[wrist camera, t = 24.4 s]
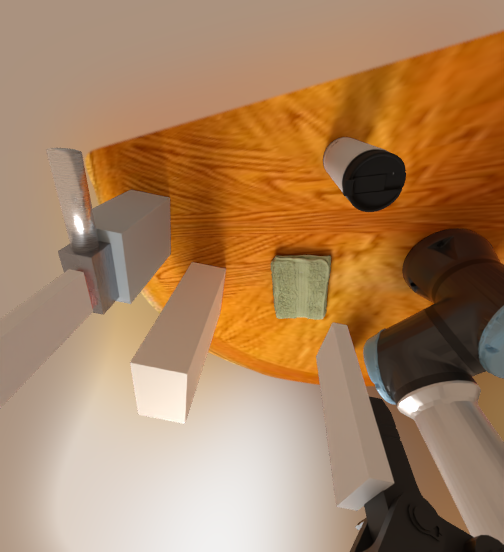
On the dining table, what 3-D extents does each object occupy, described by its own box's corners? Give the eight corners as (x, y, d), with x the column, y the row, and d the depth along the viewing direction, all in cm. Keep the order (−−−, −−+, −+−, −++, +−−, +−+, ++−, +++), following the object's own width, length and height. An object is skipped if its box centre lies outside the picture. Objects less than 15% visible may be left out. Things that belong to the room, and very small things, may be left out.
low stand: (170, 197, 50) (121, 233, 35) (170, 253, 57) (130, 303, 42) (130, 189, 50) (65, 222, 35) (136, 246, 57) (84, 294, 42)
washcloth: (331, 250, 53) (334, 258, 51) (325, 313, 63) (327, 322, 60) (270, 252, 55) (269, 259, 52) (272, 313, 64) (272, 322, 62)
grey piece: (96, 152, 29) (61, 160, 25) (119, 296, 42) (98, 319, 37) (59, 145, 29) (17, 151, 25) (93, 291, 42) (69, 314, 37)
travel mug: (321, 139, 42) (346, 156, 25) (362, 134, 41) (417, 148, 24) (320, 178, 45) (342, 216, 29) (358, 174, 44) (404, 211, 28)
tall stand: (226, 268, 58) (187, 374, 34) (220, 313, 66) (185, 423, 42) (192, 261, 58) (130, 362, 34) (190, 307, 66) (138, 414, 42)
